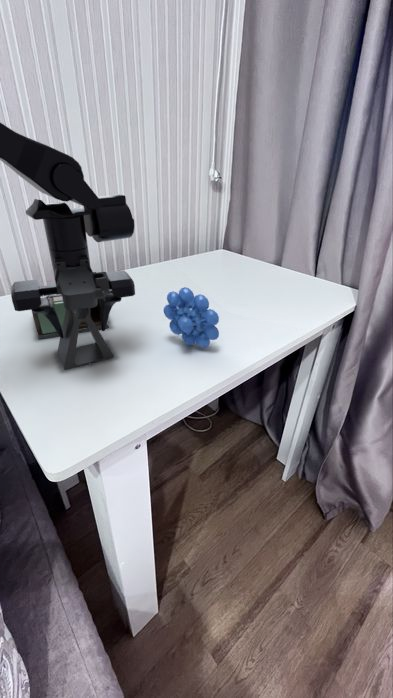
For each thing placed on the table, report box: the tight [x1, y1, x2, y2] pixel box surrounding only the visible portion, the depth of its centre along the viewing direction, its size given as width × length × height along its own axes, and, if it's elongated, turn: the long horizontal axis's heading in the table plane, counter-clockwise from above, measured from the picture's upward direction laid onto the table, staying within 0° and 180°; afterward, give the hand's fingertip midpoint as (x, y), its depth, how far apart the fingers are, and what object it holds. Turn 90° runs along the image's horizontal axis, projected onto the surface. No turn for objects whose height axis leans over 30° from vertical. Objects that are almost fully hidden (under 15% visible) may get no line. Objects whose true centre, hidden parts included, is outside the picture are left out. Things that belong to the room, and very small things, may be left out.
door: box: [38, 297, 66, 334], centre depth 65 cm, size 7×1×9 cm, turn 114°
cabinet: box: [31, 284, 110, 340], centre depth 71 cm, size 14×10×7 cm
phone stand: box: [57, 308, 115, 371], centre depth 59 cm, size 9×6×12 cm, turn 119°
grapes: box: [162, 286, 220, 348], centre depth 63 cm, size 12×7×12 cm, turn 67°
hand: (83, 333), depth 60 cm, fingers open, 7 cm apart
